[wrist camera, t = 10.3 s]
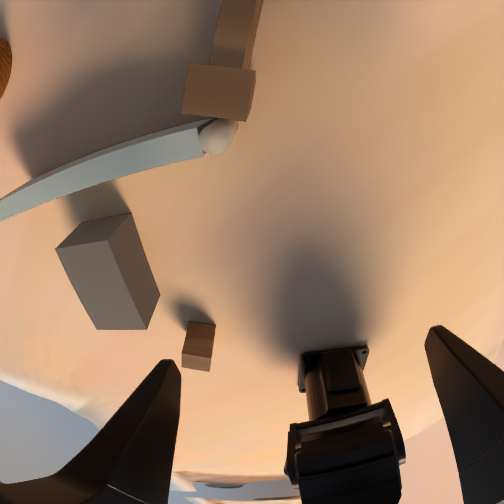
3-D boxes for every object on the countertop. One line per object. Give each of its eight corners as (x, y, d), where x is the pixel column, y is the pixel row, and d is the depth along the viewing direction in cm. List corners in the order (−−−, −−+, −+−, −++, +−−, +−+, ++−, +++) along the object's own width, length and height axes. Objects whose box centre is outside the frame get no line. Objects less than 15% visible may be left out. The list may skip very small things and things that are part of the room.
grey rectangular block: (160, 293, 22) (146, 329, 18) (114, 296, 22) (96, 329, 19) (132, 211, 18) (107, 240, 15) (83, 221, 19) (55, 249, 15)
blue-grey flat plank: (236, 113, 15) (226, 121, 10) (240, 133, 15) (232, 151, 11) (31, 179, 16) (-17, 210, 12) (36, 193, 17) (-10, 227, 12)
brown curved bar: (239, -29, 10) (229, -89, 4) (277, -24, 10) (290, -83, 4) (188, 335, 24) (173, 404, 18) (214, 339, 24) (204, 409, 18)
